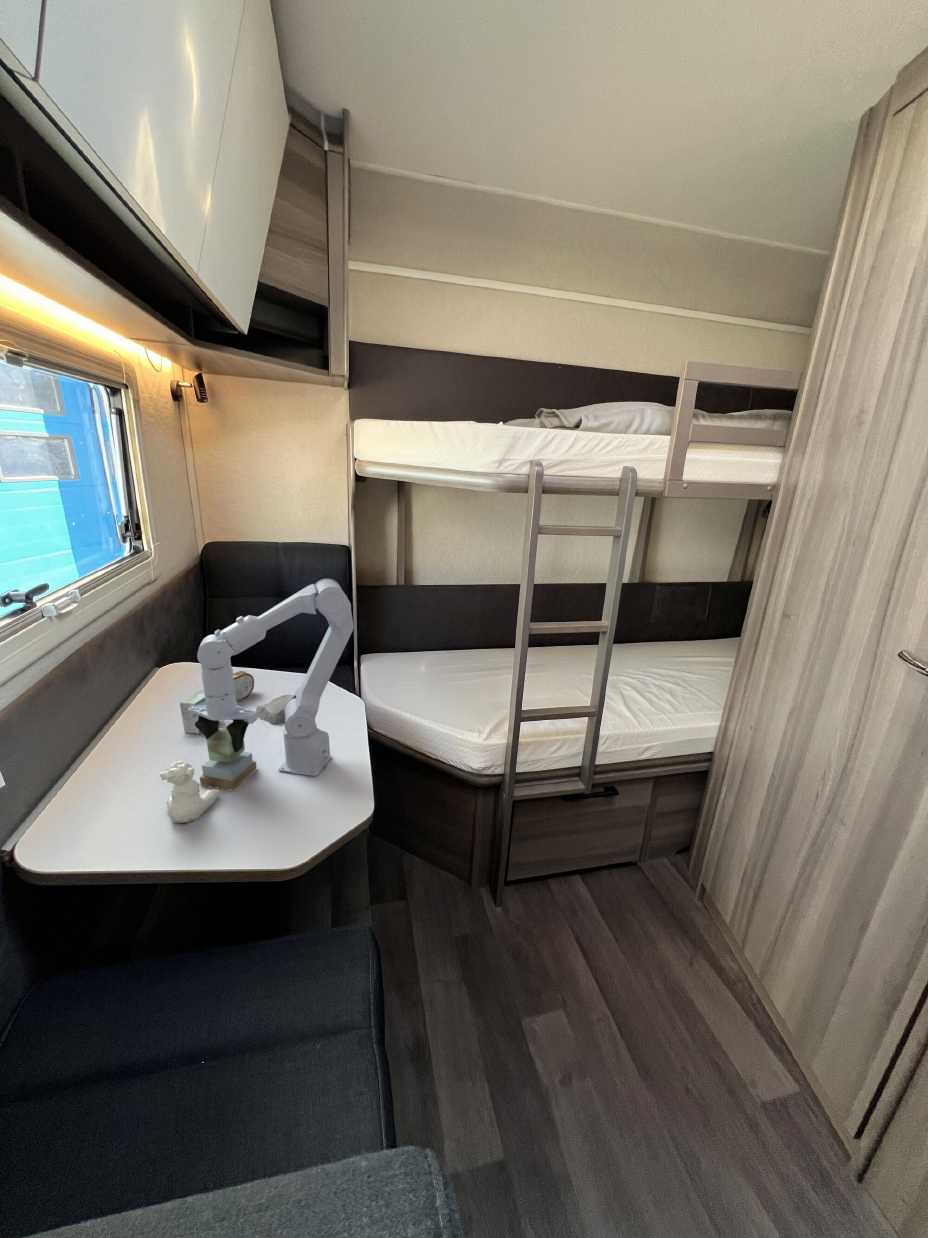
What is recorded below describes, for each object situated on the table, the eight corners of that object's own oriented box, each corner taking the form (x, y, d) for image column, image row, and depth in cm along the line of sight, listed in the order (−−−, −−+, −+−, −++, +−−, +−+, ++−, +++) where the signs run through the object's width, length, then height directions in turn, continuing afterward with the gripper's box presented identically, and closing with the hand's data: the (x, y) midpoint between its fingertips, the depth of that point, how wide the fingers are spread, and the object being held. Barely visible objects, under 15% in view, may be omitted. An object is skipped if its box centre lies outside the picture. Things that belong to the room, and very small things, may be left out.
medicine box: (198, 734, 119) (194, 704, 117) (183, 732, 120) (179, 702, 118) (220, 720, 127) (216, 691, 124) (205, 718, 127) (201, 689, 125)
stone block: (253, 722, 130) (275, 726, 124) (250, 706, 129) (272, 709, 124) (288, 707, 140) (311, 710, 134) (286, 692, 139) (308, 694, 134)
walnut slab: (256, 770, 106) (255, 761, 106) (234, 792, 99) (233, 782, 98) (225, 766, 108) (224, 756, 107) (201, 787, 100) (199, 777, 99)
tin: (250, 691, 144) (247, 666, 142) (257, 694, 143) (254, 668, 140) (205, 711, 131) (201, 684, 128) (213, 714, 130) (209, 686, 127)
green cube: (244, 750, 104) (242, 730, 102) (231, 762, 99) (228, 742, 97) (224, 747, 104) (221, 727, 103) (209, 760, 99) (206, 739, 98)
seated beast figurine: (221, 795, 97) (214, 744, 94) (212, 823, 89) (204, 769, 86) (169, 802, 95) (161, 750, 91) (155, 831, 87) (145, 776, 83)
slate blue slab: (252, 762, 105) (251, 753, 104) (231, 781, 99) (230, 771, 98) (226, 758, 107) (224, 748, 106) (203, 775, 100) (201, 765, 99)
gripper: (262, 686, 100) (268, 742, 104) (201, 680, 102) (208, 735, 106) (243, 701, 93) (249, 760, 97) (177, 694, 95) (186, 752, 99)
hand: (226, 748), depth 101 cm, fingers closed on green cube, 5 cm apart
